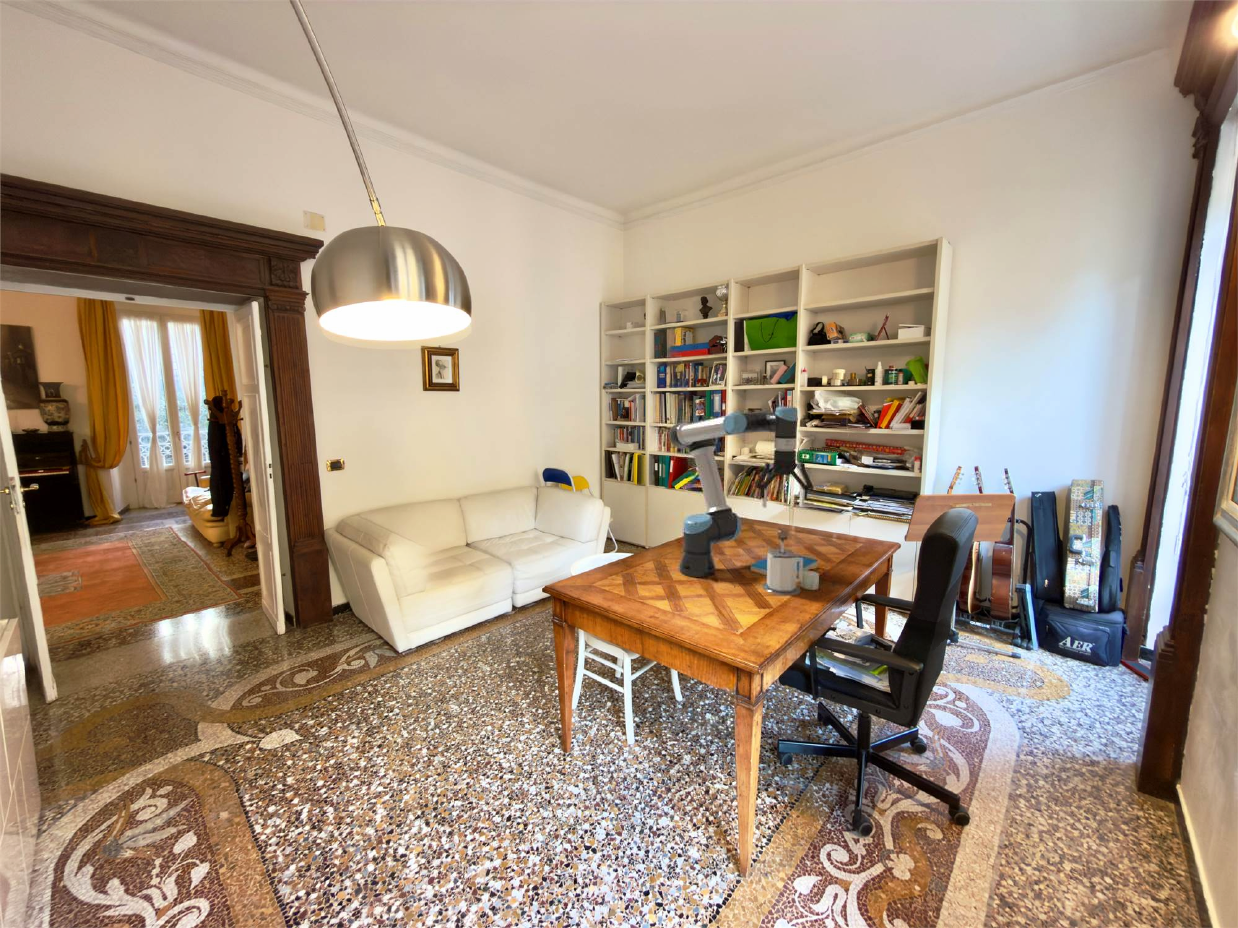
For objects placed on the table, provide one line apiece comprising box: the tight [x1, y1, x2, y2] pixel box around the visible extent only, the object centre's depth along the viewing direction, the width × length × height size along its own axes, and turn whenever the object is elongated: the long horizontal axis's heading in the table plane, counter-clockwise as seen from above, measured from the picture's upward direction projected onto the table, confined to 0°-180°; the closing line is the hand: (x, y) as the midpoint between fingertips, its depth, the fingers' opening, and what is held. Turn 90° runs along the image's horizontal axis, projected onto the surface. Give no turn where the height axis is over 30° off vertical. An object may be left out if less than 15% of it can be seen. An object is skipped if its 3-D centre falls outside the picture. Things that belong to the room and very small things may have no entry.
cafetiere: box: [766, 548, 803, 593], centre depth 180 cm, size 10×13×14 cm
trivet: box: [761, 581, 802, 596], centre depth 181 cm, size 14×14×1 cm
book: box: [749, 554, 818, 577], centre depth 202 cm, size 17×4×25 cm
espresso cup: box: [800, 570, 820, 591], centre depth 181 cm, size 7×6×6 cm
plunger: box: [777, 528, 789, 554], centre depth 179 cm, size 4×4×16 cm
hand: (782, 506), depth 177 cm, fingers open, 13 cm apart
